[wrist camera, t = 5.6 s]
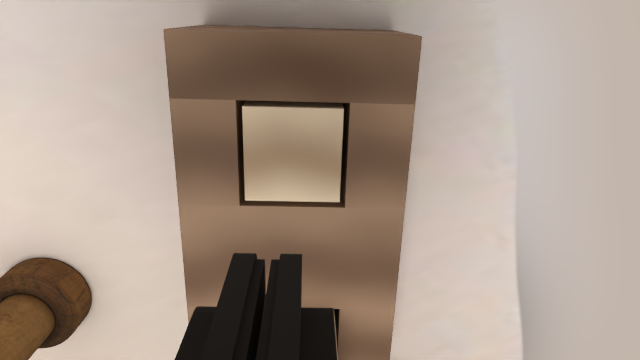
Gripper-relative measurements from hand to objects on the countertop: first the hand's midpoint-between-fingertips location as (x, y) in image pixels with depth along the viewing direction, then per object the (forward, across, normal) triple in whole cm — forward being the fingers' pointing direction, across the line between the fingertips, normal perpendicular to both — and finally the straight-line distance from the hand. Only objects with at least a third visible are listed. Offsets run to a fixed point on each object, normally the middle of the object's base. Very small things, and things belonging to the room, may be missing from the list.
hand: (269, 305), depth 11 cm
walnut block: (+21, 0, +6) cm, 22 cm away
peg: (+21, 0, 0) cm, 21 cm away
